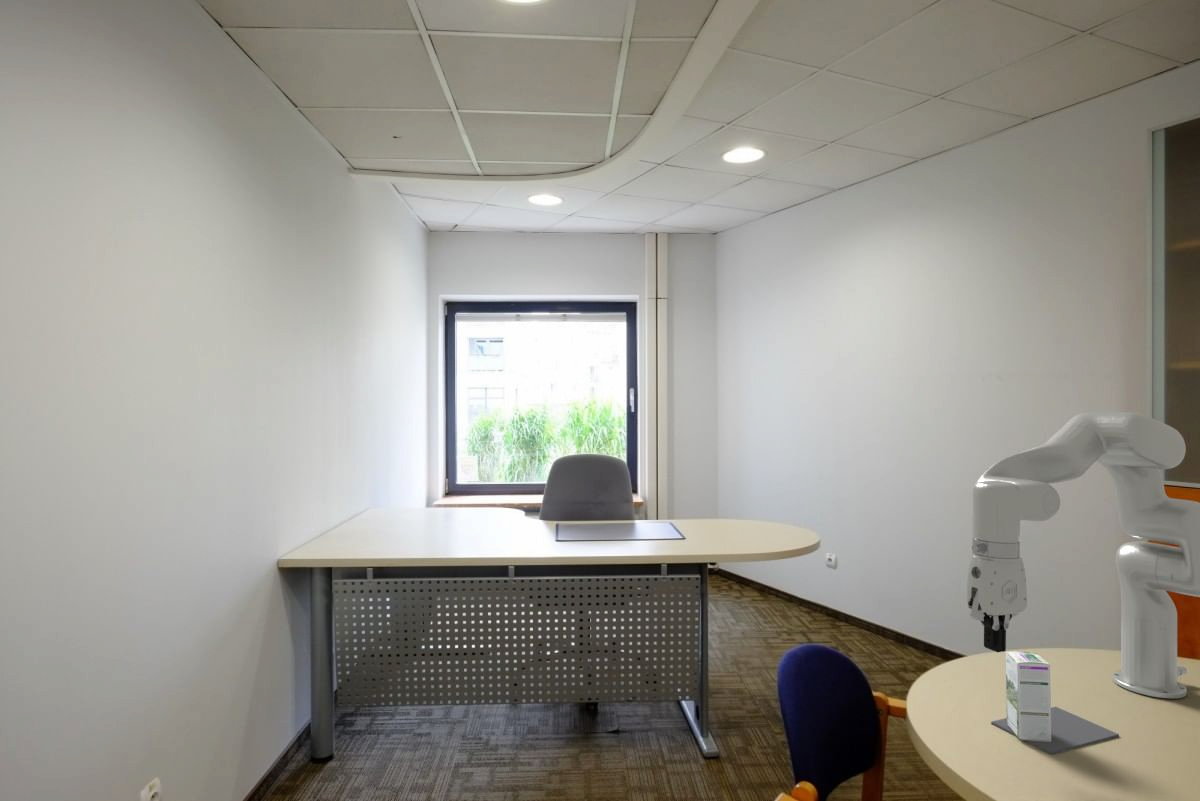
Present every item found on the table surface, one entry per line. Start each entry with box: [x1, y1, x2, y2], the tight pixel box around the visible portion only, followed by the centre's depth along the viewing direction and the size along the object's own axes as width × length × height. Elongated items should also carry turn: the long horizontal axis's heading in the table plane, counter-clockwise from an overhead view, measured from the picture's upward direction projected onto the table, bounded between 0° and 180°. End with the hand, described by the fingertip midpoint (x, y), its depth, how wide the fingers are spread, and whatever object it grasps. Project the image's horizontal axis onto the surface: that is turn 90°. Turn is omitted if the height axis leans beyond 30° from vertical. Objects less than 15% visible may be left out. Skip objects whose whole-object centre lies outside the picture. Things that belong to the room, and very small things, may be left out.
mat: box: [990, 706, 1120, 755], centre depth 128 cm, size 18×12×1 cm, turn 110°
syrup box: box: [1005, 650, 1052, 742], centre depth 126 cm, size 6×6×14 cm
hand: (994, 649), depth 123 cm, fingers closed
